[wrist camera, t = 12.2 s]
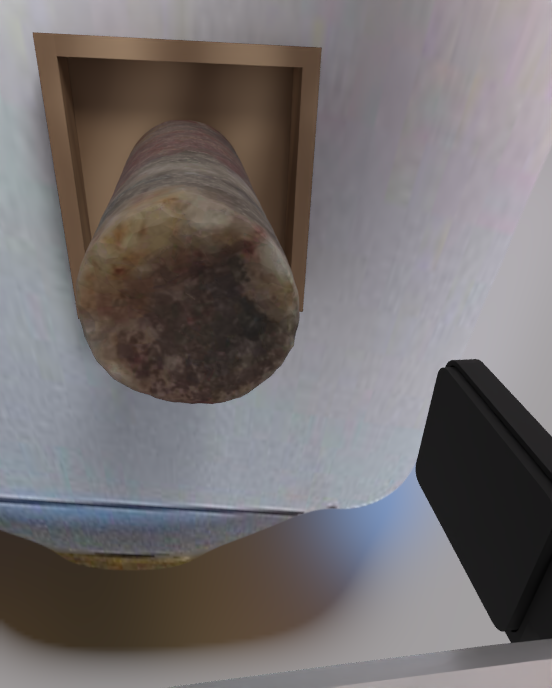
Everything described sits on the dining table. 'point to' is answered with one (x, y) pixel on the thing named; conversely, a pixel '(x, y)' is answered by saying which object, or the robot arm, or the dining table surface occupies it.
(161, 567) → the dining table surface
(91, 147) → the wooden tray
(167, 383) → the candle
